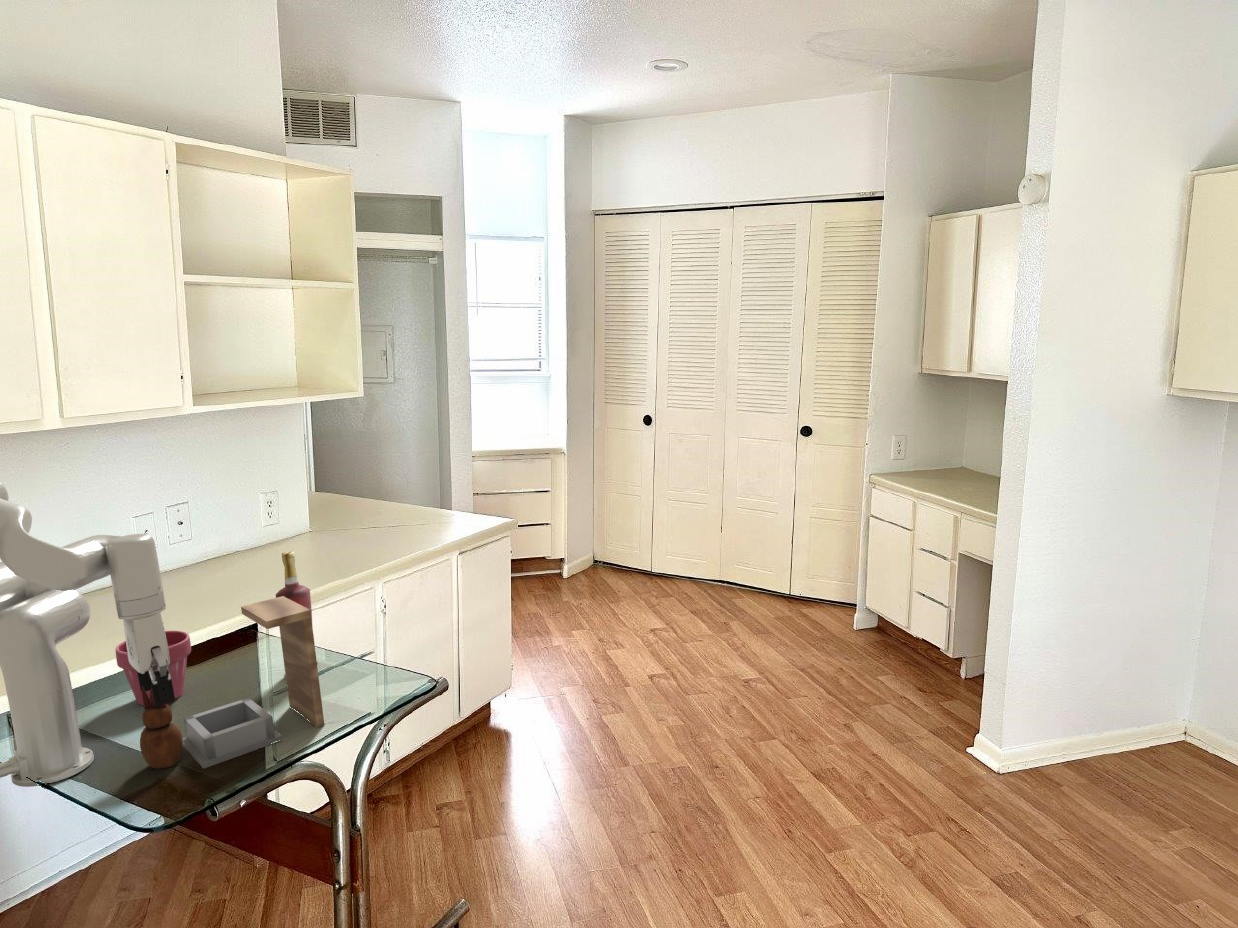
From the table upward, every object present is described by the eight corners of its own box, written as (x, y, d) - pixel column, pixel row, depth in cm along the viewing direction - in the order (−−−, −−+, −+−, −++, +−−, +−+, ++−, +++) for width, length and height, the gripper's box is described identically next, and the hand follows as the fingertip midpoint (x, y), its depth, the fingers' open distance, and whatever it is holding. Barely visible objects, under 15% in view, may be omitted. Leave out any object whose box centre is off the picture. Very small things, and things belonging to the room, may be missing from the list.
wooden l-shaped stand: (282, 740, 161) (266, 621, 157) (256, 718, 171) (240, 606, 168) (324, 725, 166) (310, 609, 163) (296, 704, 177) (283, 596, 173)
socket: (203, 768, 152) (199, 742, 151) (181, 743, 162) (177, 719, 161) (282, 740, 161) (278, 715, 160) (256, 718, 171) (252, 695, 171)
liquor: (324, 664, 199) (310, 548, 194) (312, 676, 191) (297, 556, 187) (293, 666, 199) (278, 549, 195) (280, 678, 192) (264, 558, 187)
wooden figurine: (137, 769, 153) (124, 691, 151) (163, 754, 158) (152, 678, 156) (165, 774, 151) (153, 694, 148) (191, 758, 156) (180, 681, 154)
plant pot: (210, 682, 192) (202, 628, 190) (172, 710, 178) (163, 652, 176) (151, 684, 193) (142, 630, 191) (108, 711, 179) (99, 653, 177)
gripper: (106, 601, 154) (123, 691, 156) (129, 620, 141) (146, 717, 144) (151, 590, 159) (167, 677, 161) (177, 607, 146) (194, 701, 148)
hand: (157, 696), depth 152 cm, fingers open, 9 cm apart
